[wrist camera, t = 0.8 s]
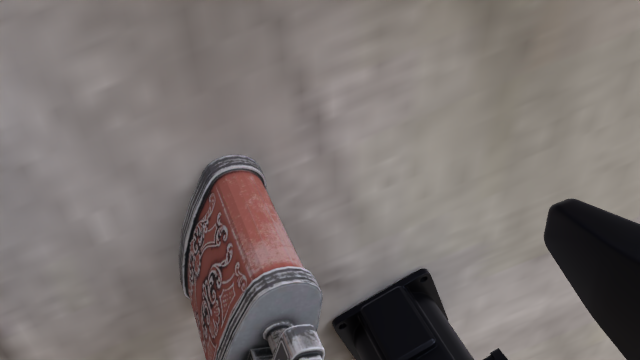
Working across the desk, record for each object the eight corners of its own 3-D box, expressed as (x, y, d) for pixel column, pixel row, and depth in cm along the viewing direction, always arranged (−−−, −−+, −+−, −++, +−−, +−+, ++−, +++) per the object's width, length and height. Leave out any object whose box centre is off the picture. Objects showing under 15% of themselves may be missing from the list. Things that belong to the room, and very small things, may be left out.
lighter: (236, 287, 29) (303, 477, 22) (168, 292, 27) (216, 499, 20) (274, 156, 25) (372, 337, 18) (197, 153, 23) (270, 351, 16)
